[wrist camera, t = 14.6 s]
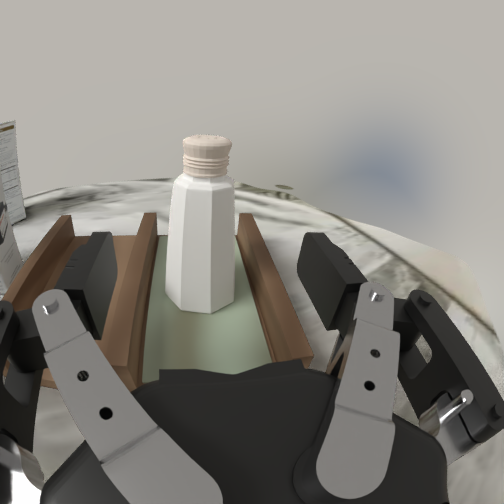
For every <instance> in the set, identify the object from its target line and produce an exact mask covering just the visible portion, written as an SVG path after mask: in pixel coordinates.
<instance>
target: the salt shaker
mask: <svg viewBox="0 0 504 504" xmlns="http://www.w3.org/2000/svg"><path fill="white" fill-rule="evenodd" d="M231 146H232V142H231V141H230V140H229V139H227V138H225V137H221V136H215V135H193V136H189V137H187V138H185V139H184V140H183V148H184V152H185V154H184V155H183V157H184V158H183V160H184V161H183V163H184V169H183V172H184V173H183V174H181V175H180V176H179V177H178V178H177V179H176V180H175V181H174V185H173V191H172V198H171V208H170V219H169V231H168V244H167V261H166V283H165V293H166V294H167V296H168V297H169V298H170V299H171V300H172V301H173V302H174V303H175V304H176V305H177V306H178V308H179V309H180V310H182V311H189V312H197V313H205V314H211V313H213V312H215V311H217V310H219V309H221V308H223V307H224V306H226V305H228V304H230V303H232V302H233V301H234V292H235V217H234V179H232V178H231V177H229V176H227V175H226V174H227V166H228V164H229V163H228V162H229V160H228V159H229V156H228V154H229V151H230V149H231Z"/></svg>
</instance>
